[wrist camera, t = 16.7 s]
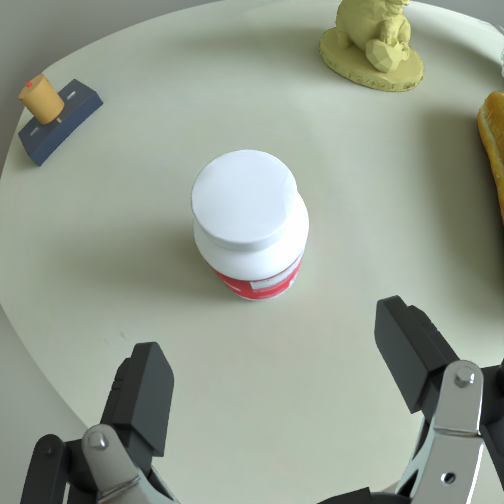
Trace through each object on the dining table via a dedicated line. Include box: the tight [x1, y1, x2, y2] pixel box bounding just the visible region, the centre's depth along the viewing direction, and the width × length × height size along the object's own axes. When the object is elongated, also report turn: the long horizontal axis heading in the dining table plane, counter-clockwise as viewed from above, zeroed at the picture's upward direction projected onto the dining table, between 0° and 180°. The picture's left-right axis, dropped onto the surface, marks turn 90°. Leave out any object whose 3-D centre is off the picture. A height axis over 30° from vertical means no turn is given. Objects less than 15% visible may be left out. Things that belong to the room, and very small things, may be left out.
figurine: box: [319, 0, 424, 92], centre depth 23 cm, size 15×14×15 cm
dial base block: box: [18, 79, 103, 166], centre depth 31 cm, size 12×9×3 cm
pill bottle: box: [191, 150, 308, 301], centre depth 18 cm, size 6×6×11 cm
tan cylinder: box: [19, 74, 64, 125], centre depth 27 cm, size 4×4×6 cm
